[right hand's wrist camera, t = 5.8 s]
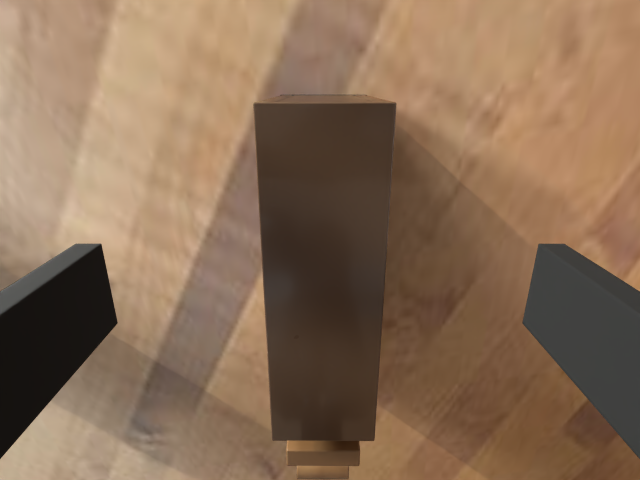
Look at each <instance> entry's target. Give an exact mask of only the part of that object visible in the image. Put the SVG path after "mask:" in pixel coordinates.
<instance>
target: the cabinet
mask: <svg viewBox="0 0 640 480" xmlns="http://www.w3.org/2000/svg"><path fill="white" fill-rule="evenodd" d="M253 111H254V128H255V146H256V164H257V181H258V199H259V216H260V234H261V251H262V269H263V286H264V304H265V321H266V339H267V356H268V374H269V391H270V409H271V426H272V440H273V441H374V438H375V423H376V408H377V392H378V377H379V362H380V346H381V331H382V315H383V300H384V285H385V269H386V254H387V239H388V223H389V208H390V193H391V177H392V162H393V146H394V131H395V116H396V103H395V102H390V101H386V100H382V99H378V98H374V97H370V96H367V95H280V96H278V97H274V98H270V99H267V100H263V101H259V102H254V103H253Z"/></svg>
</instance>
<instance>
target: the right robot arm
mask: <svg viewBox="0 0 640 480" xmlns="http://www.w3.org/2000/svg"><path fill="white" fill-rule="evenodd" d="M116 324H117V318H116V313H115V308H114V303H113V298H112V294H111V289H110V284H109V279H108V274H107V269H106V264H105V260H104V255H103V250H102V245H101V244H75V245H73V246H71V247H70V248H68V249H67V250H65V251H64V252H62V253H60V254H59V255H57V256H56V257H54V258H53V259H51V260H49V261H48V262H46V263H45V264H43V265H42V266H40V267H38V268H37V269H35V270H34V271H32V272H31V273H29V274H27V275H26V276H24V277H23V278H21V279H19V280H18V281H16V282H15V283H13V284H12V285H10V286H8V287H7V288H5V289H4V290H2V291H1V292H0V459H1V457H2V456H3V455H4V454H5V453H6V452H7V451H8V449H9V448H10V447H11V446H12V445H13V444H14V442H15V441H16V440H17V439H18V438H19V437H20V435H21V434H22V433H23V432H24V431H25V430H26V429H27V427H28V426H29V425H30V424H31V423H32V422H33V420H34V419H35V418H36V417H37V416H38V415H39V413H40V412H41V411H42V410H43V409H44V408H45V407H46V405H47V404H48V403H49V402H50V401H51V400H52V398H53V397H54V396H55V395H56V394H57V393H58V391H59V390H60V389H61V388H62V387H63V386H64V385H65V383H66V382H67V381H68V380H69V379H70V378H71V376H72V375H73V374H74V373H75V372H76V371H77V370H78V368H79V367H80V366H81V365H82V364H83V363H84V361H85V360H86V359H87V358H88V357H89V356H90V354H91V353H92V352H93V351H94V350H95V349H96V348H97V346H98V345H99V344H100V343H101V342H102V341H103V339H104V338H105V337H106V336H107V335H108V334H109V332H110V331H111V330H112V329H113V328H114V327H115V326H116ZM523 324H524V326H525V327H526V328H527V329H528V330H529V331H530V332H531V334H532V335H533V336H534V337H535V338H536V339H537V341H538V342H539V343H540V344H541V345H542V346H543V348H544V349H545V350H546V351H547V352H548V353H549V354H550V356H551V357H552V358H553V359H554V360H555V361H556V363H557V364H558V365H559V366H560V367H561V368H562V370H563V371H564V372H565V373H566V374H567V375H568V376H569V378H570V379H571V380H572V381H573V382H574V383H575V385H576V386H577V387H578V388H579V389H580V390H581V391H582V393H583V394H584V395H585V396H586V397H587V398H588V400H589V401H590V402H591V403H592V404H593V405H594V407H595V408H596V409H597V410H598V411H599V412H600V413H601V415H602V416H603V417H604V418H605V419H606V420H607V422H608V423H609V424H610V425H611V426H612V427H613V429H614V430H615V431H616V432H617V433H618V434H619V435H620V437H621V438H622V439H623V440H624V441H625V442H626V444H627V445H628V446H629V447H630V448H631V449H632V451H633V452H634V453H635V454H636V455H637V456H638V457H639V459H640V292H639V291H638V290H636V289H635V288H633V287H632V286H630V285H628V284H627V283H625V282H624V281H622V280H621V279H619V278H617V277H616V276H614V275H613V274H611V273H609V272H608V271H606V270H605V269H603V268H602V267H600V266H598V265H597V264H595V263H594V262H592V261H591V260H589V259H587V258H586V257H584V256H583V255H581V254H580V253H578V252H576V251H575V250H573V249H572V248H570V247H568V246H567V245H565V244H539V245H538V250H537V255H536V260H535V264H534V269H533V274H532V279H531V284H530V289H529V294H528V298H527V303H526V308H525V313H524V318H523Z"/></svg>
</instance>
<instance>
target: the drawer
mask: <svg viewBox="0 0 640 480" xmlns="http://www.w3.org/2000/svg"><path fill="white" fill-rule="evenodd" d="M286 456H287V465H288V466H297V479H348V478H349V466H359V463H360V445H359V441H287V448H286Z"/></svg>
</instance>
